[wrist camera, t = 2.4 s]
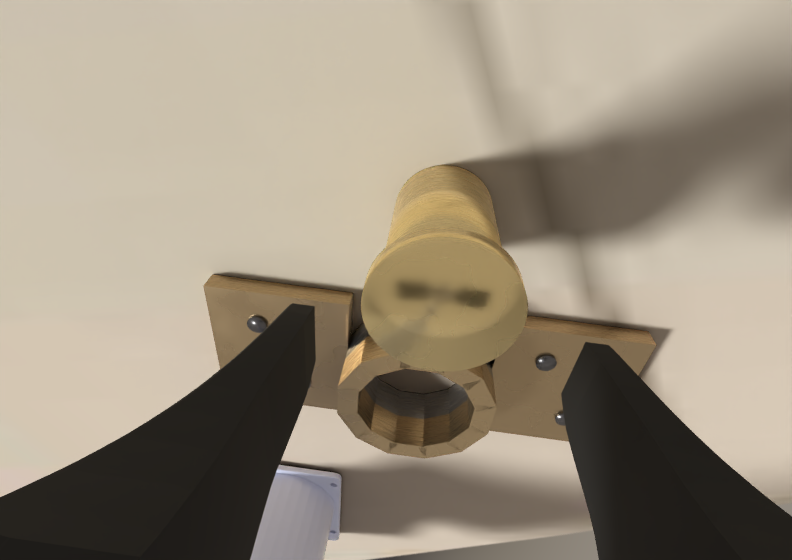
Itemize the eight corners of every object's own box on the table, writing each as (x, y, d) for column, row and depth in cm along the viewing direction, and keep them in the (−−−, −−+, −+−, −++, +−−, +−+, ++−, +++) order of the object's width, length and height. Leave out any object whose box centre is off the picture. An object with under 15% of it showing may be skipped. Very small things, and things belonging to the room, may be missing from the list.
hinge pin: (488, 267, 20) (505, 380, 14) (382, 253, 20) (357, 360, 15) (514, 163, 17) (549, 253, 12) (391, 148, 17) (364, 230, 12)
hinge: (591, 430, 26) (609, 486, 23) (232, 381, 26) (206, 430, 24) (648, 331, 21) (680, 385, 19) (212, 274, 22) (177, 318, 19)
